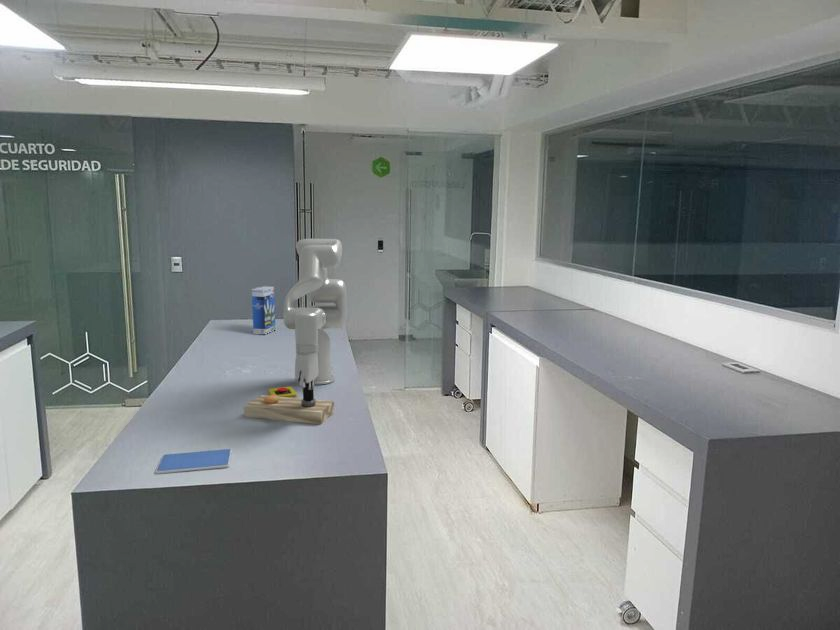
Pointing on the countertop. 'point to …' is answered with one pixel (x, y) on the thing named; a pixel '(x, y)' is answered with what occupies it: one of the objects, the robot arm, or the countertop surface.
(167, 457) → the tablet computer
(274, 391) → the emergency button
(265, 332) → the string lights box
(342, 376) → the countertop surface
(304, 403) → the gray knob
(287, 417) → the control block
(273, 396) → the orange knob
